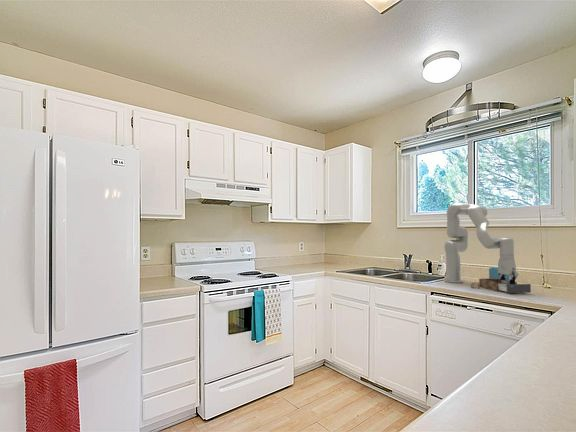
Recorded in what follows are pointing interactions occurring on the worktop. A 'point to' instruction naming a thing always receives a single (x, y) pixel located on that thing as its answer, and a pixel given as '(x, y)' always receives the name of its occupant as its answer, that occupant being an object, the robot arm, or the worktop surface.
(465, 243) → the robot arm
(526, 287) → the tray
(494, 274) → the data package
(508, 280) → the disc
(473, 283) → the stand
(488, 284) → the dock
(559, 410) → the worktop surface
